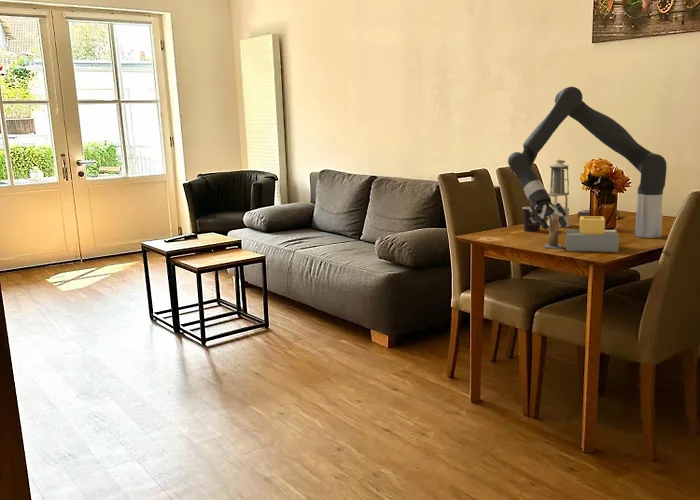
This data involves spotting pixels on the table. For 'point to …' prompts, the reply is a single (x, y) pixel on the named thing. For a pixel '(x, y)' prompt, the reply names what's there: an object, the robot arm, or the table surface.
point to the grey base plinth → (592, 236)
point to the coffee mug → (530, 221)
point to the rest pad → (553, 247)
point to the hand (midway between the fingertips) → (555, 227)
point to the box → (586, 213)
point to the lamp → (559, 187)
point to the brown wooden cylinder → (553, 230)
